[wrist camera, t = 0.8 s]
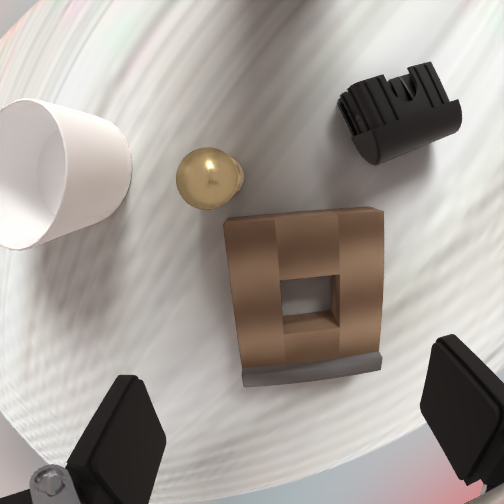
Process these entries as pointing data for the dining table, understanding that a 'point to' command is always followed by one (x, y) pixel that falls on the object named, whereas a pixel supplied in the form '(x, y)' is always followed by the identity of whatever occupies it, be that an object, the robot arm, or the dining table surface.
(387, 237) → the dining table surface
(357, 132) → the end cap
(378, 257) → the jig
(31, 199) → the cup
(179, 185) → the gold peg
